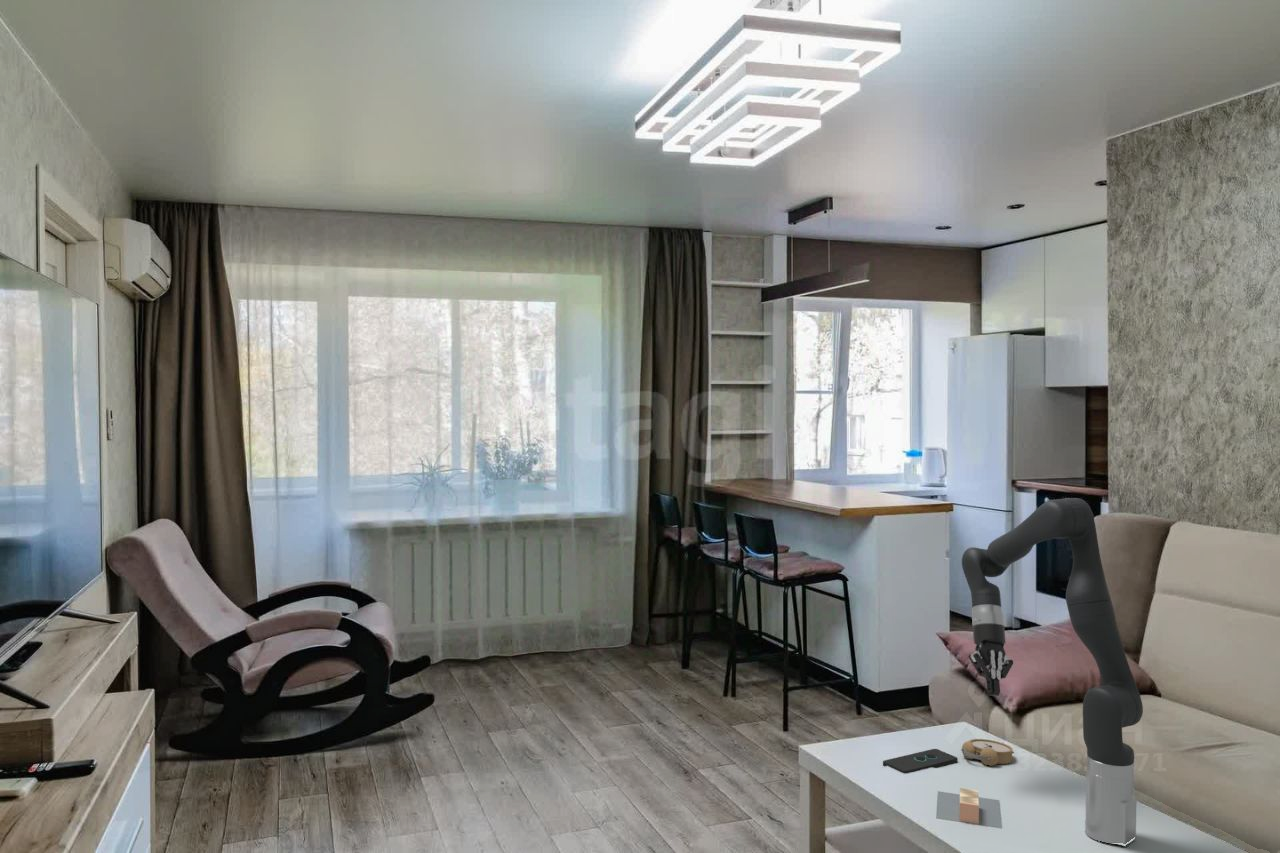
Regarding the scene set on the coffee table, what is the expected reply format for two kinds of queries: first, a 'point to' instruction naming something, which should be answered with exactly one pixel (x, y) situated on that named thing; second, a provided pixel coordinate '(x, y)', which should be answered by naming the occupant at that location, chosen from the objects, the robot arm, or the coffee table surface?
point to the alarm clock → (987, 751)
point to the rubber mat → (951, 804)
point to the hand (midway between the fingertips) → (994, 695)
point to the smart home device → (920, 761)
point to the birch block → (969, 806)
